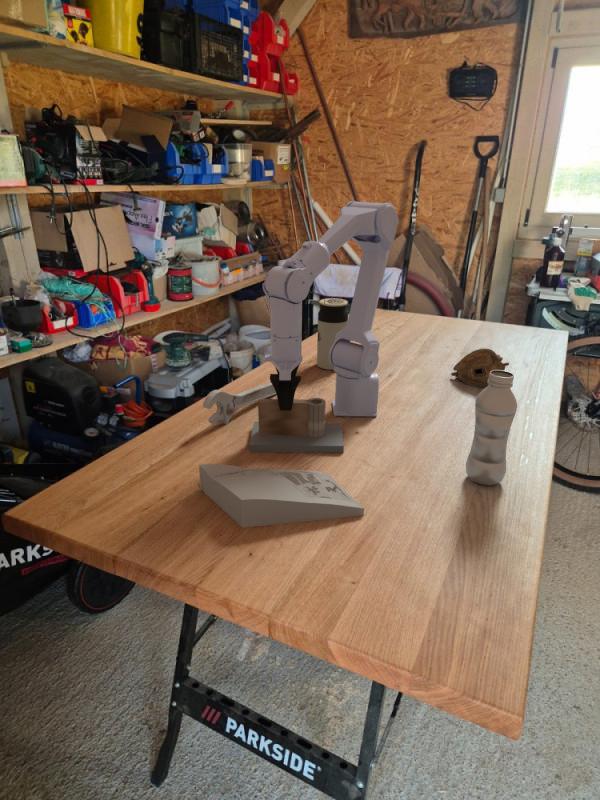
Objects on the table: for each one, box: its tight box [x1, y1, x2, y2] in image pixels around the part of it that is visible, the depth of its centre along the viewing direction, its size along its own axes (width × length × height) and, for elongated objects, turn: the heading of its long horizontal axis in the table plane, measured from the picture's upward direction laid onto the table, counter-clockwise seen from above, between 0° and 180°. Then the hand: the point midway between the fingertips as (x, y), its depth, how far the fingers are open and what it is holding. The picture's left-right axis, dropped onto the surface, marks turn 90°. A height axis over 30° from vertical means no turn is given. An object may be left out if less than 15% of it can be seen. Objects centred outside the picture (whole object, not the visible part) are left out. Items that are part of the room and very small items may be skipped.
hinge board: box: [249, 421, 345, 454], centre depth 105 cm, size 18×10×4 cm, turn 90°
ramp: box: [198, 463, 365, 529], centre depth 85 cm, size 28×16×5 cm, turn 78°
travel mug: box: [316, 297, 349, 371], centre depth 143 cm, size 8×8×18 cm
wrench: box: [202, 381, 276, 425], centre depth 119 cm, size 8×2×30 cm
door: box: [257, 397, 327, 438], centre depth 104 cm, size 13×4×7 cm, turn 90°
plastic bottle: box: [465, 370, 518, 486], centre depth 89 cm, size 6×7×20 cm
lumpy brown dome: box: [450, 348, 510, 389], centre depth 141 cm, size 10×24×15 cm
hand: (286, 401), depth 103 cm, fingers open, 7 cm apart
